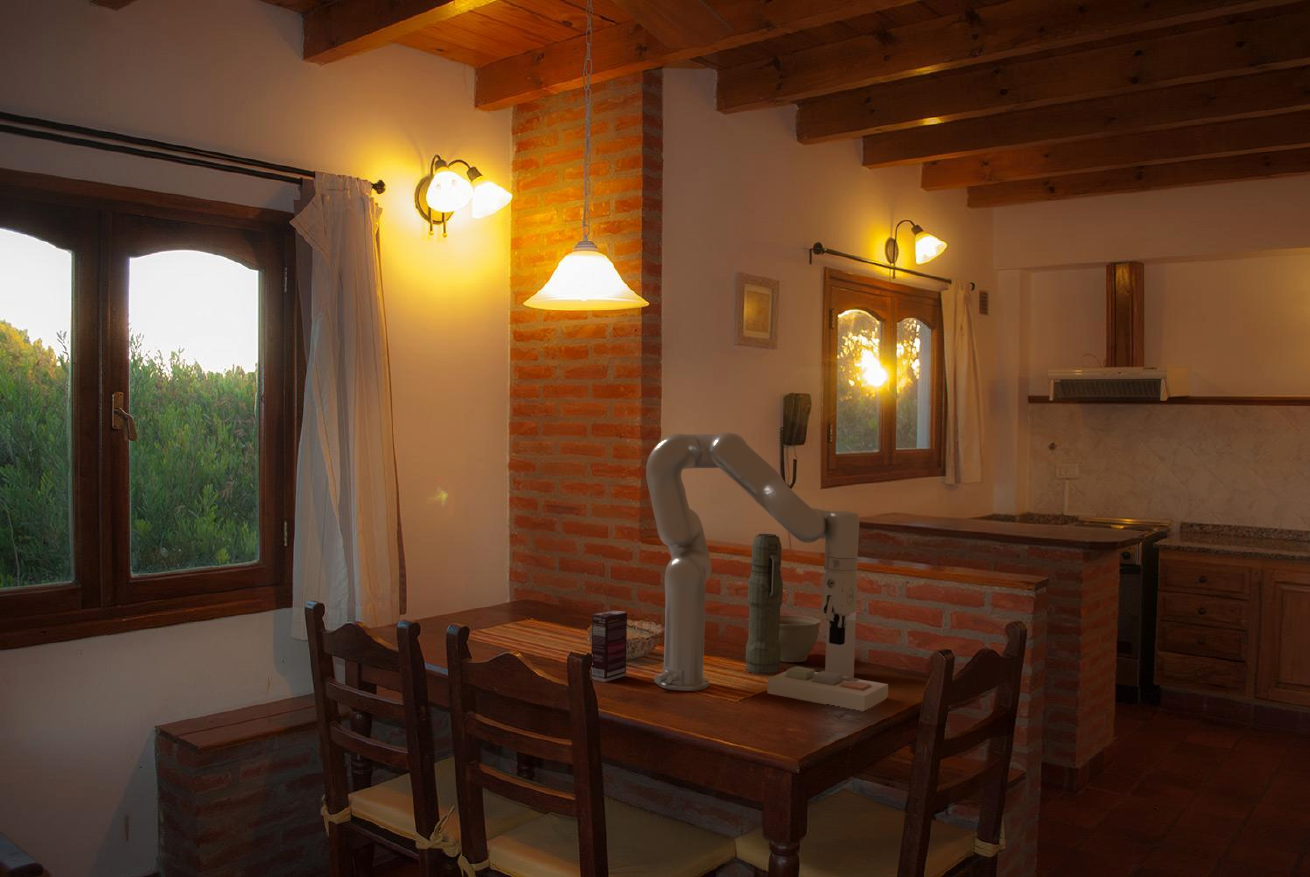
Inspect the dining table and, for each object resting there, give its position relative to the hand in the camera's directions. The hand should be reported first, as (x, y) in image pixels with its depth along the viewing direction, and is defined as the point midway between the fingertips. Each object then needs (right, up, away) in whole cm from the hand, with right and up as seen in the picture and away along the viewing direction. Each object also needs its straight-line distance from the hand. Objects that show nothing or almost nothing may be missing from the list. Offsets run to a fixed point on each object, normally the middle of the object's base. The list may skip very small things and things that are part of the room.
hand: (836, 643), depth 233 cm
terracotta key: (+4, -11, -3) cm, 12 cm away
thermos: (-14, -12, +25) cm, 31 cm away
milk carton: (+5, -13, +23) cm, 27 cm away
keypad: (-2, -13, +1) cm, 13 cm away
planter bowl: (-6, -13, +40) cm, 42 cm away
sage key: (-8, -10, +5) cm, 13 cm away
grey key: (-2, -10, +1) cm, 10 cm away
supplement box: (-54, -11, +12) cm, 56 cm away
